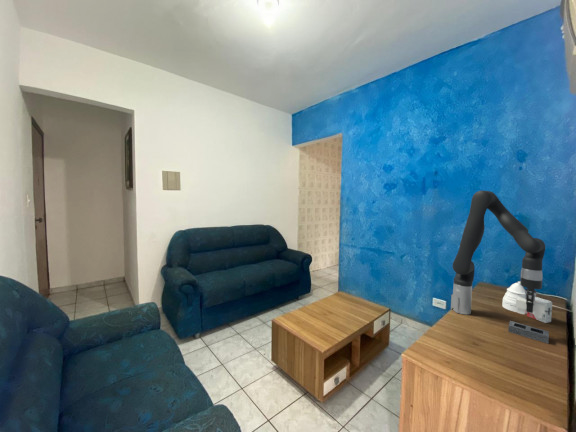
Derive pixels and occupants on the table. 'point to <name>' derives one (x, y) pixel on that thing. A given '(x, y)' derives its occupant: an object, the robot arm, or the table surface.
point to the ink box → (548, 311)
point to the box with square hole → (529, 332)
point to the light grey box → (537, 307)
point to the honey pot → (513, 297)
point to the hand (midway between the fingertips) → (529, 310)
